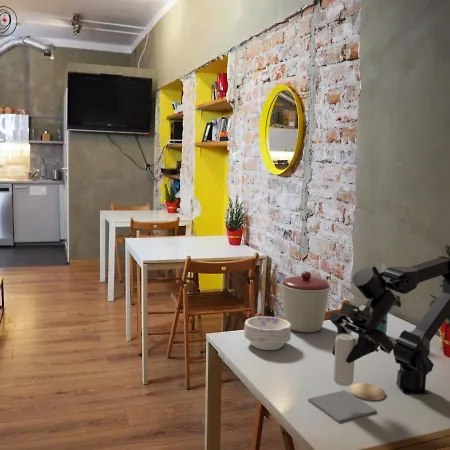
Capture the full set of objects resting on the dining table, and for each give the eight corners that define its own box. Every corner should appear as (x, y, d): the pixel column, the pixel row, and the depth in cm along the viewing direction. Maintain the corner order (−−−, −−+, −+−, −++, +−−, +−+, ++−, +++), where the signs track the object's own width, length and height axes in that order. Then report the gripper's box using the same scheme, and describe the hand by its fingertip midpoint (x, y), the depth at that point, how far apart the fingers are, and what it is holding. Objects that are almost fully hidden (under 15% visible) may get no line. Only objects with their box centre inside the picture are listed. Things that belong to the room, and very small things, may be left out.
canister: (339, 331, 189) (343, 274, 186) (301, 340, 179) (304, 279, 176) (305, 317, 204) (308, 264, 201) (268, 324, 194) (270, 268, 191)
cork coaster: (379, 385, 146) (379, 383, 146) (389, 400, 137) (389, 398, 137) (346, 384, 146) (346, 382, 146) (355, 400, 137) (355, 398, 137)
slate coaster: (344, 392, 141) (344, 390, 141) (376, 412, 131) (376, 410, 131) (308, 400, 136) (308, 398, 136) (338, 422, 125) (338, 420, 125)
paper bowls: (279, 336, 183) (280, 313, 182) (297, 352, 169) (298, 328, 167) (238, 339, 179) (238, 316, 178) (252, 356, 164) (253, 331, 163)
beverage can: (339, 376, 136) (341, 331, 134) (356, 381, 133) (358, 336, 131) (330, 382, 132) (332, 337, 130) (347, 388, 129) (350, 341, 127)
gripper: (335, 281, 139) (299, 328, 135) (387, 300, 123) (348, 353, 119) (357, 306, 144) (323, 352, 140) (410, 327, 127) (373, 379, 124)
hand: (340, 358), depth 131 cm, fingers closed on beverage can, 5 cm apart
